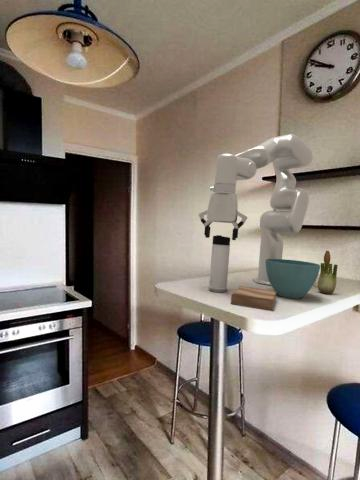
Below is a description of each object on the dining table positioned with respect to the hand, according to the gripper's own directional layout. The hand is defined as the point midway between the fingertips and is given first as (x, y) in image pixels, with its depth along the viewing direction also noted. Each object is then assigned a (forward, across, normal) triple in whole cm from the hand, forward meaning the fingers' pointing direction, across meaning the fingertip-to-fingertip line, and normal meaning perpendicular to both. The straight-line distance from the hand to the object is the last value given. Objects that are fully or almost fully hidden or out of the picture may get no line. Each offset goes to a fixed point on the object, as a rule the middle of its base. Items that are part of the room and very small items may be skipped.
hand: (220, 238), depth 102 cm
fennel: (+18, +38, +40) cm, 58 cm away
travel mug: (+19, 0, +1) cm, 19 cm away
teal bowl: (+18, +24, +11) cm, 32 cm away
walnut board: (+19, +14, -7) cm, 25 cm away
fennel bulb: (+18, +37, +25) cm, 48 cm away
